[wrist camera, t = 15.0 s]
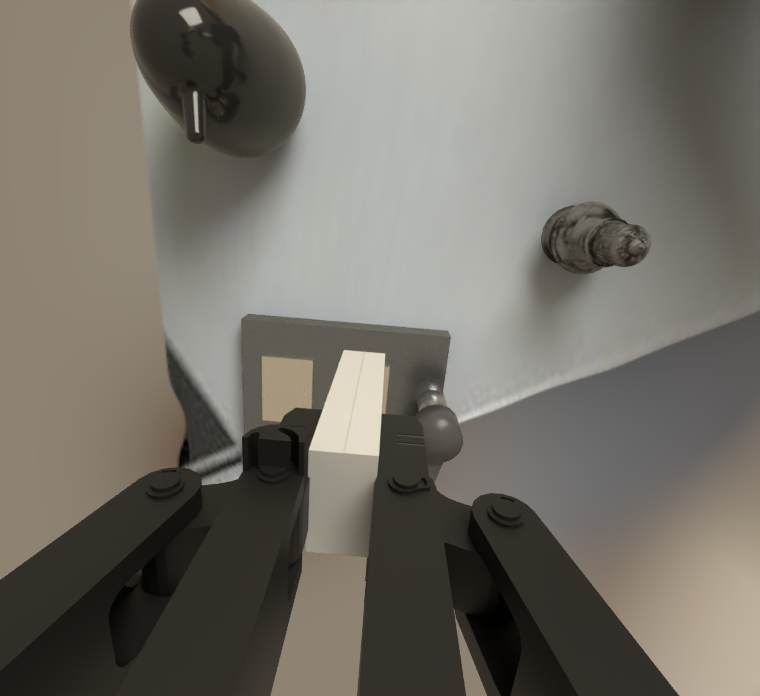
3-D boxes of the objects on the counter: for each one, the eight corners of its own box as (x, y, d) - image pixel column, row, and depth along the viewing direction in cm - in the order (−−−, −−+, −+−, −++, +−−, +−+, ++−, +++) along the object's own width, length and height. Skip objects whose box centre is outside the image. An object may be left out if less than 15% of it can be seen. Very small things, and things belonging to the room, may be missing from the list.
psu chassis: (451, 331, 42) (461, 351, 36) (435, 452, 46) (440, 488, 41) (248, 314, 42) (224, 331, 36) (251, 436, 47) (230, 470, 41)
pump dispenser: (211, 171, 38) (99, 150, 24) (182, 35, 35) (32, -85, 20) (322, 158, 37) (278, 128, 23) (304, 18, 34) (238, -118, 20)
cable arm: (420, 387, 40) (424, 414, 34) (460, 399, 40) (470, 428, 35) (361, 539, 46) (356, 582, 40) (396, 549, 46) (396, 593, 41)
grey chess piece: (528, 259, 40) (582, 281, 28) (552, 194, 38) (619, 190, 26) (588, 275, 40) (664, 302, 28) (614, 211, 38) (707, 214, 27)
